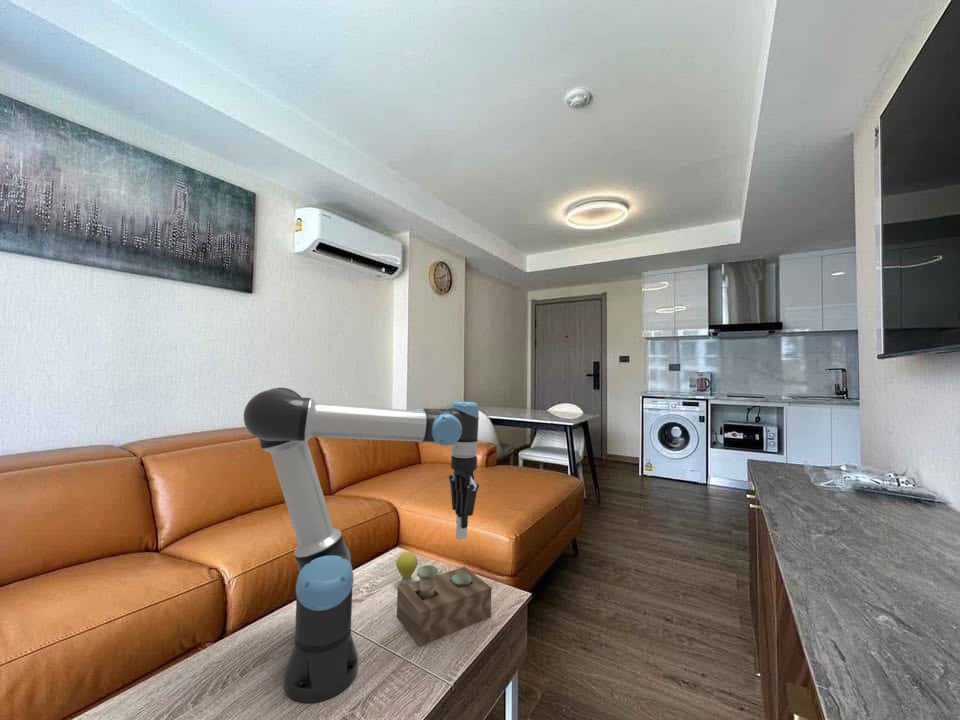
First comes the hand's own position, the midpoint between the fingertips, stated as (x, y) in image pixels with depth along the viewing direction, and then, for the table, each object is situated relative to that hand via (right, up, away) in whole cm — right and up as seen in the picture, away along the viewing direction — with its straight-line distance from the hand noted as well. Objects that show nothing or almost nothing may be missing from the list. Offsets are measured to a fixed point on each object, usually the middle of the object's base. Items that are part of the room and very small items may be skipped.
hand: (461, 538), depth 112 cm
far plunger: (0, -20, -1) cm, 20 cm away
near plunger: (-9, -15, -7) cm, 19 cm away
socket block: (-5, -20, -4) cm, 21 cm away
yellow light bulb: (-18, -21, +12) cm, 30 cm away
